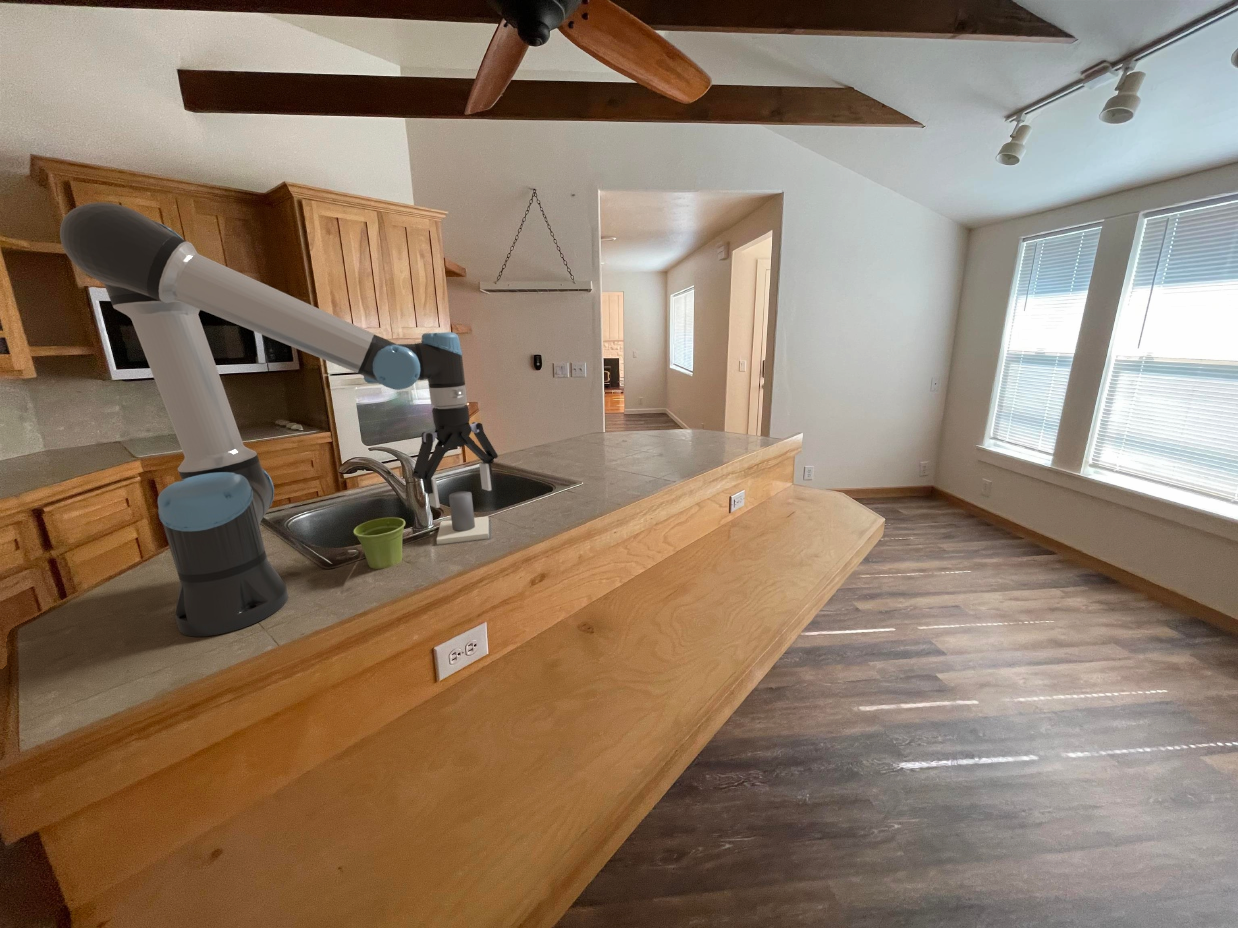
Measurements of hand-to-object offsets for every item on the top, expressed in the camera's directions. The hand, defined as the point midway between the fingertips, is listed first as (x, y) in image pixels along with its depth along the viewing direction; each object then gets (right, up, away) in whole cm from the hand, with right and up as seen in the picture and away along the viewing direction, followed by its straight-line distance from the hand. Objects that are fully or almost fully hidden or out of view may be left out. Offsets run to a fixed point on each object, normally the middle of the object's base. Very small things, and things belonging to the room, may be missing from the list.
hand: (462, 497), depth 110 cm
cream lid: (0, -8, +2) cm, 8 cm away
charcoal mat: (0, -9, +2) cm, 9 cm away
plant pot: (-12, -13, -12) cm, 21 cm away
